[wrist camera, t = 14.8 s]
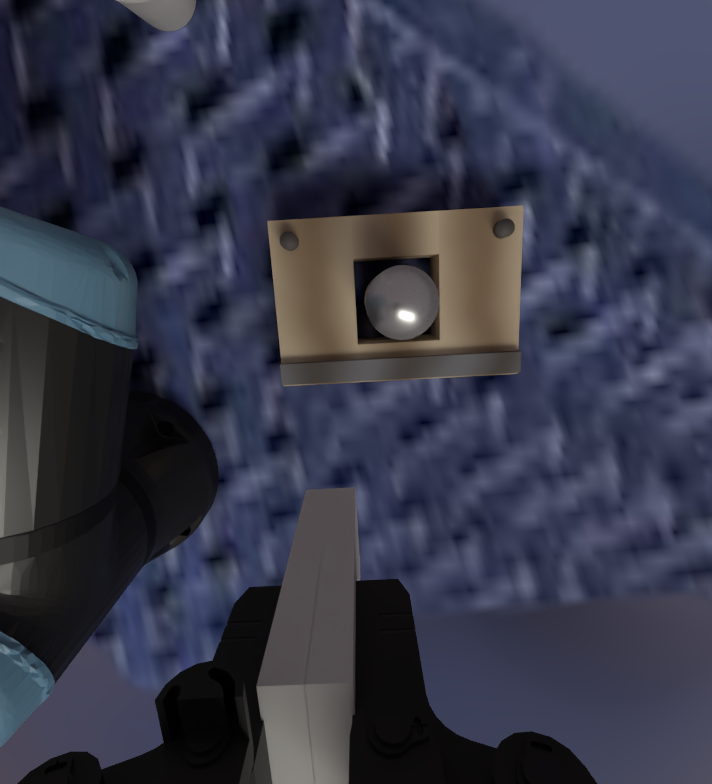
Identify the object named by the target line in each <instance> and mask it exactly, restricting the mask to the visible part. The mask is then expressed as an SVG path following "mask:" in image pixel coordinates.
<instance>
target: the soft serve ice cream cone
mask: <svg viewBox="0 0 712 784" xmlns="http://www.w3.org/2000/svg"><path fill="white" fill-rule="evenodd" d="M115 1H118V2H120V3H121V4H123V5H124V6H125V7H127V8H128V9H129V10H131V11H132V12H134V13H135V14H136V15H138V16H139V17H141V18H142V19H143V20H145V21H146V22H147V23H149V24H150V25H152V26H153V27H155V28H157V29H159V30H162V31H169V32H170V31H176V30H179V29H181V28H182V27H184V26H185V25H186V24H187V23H188V22H189V21H190V19H191V18H192V16H193V13H194V10H195V6H196V0H115Z"/></svg>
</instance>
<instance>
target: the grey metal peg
mask: <svg viewBox="0 0 712 784" xmlns="http://www.w3.org/2000/svg"><path fill="white" fill-rule="evenodd" d="M364 303H365V308H366V312H367V315H368V318H369V320H370V322H371V324H372V325H373V326H374V328H375V329H376V330H377V331H378V332H380V333H381V334H383V335H384V336H386V337H389V338H391V339H396V340H407V339H411V338H414V337H417V336H419V335H421V334H422V333H424V332H425V331H426V330H427V329H428V328H429V327H430V326H431V325H432V323H433V321H434V320H435V318H436V315H437V312H438V308H439V295H438V291H437V288H436V286H435V284H434V282H433V280H432V279H431V278H430V277H429V276H428V275H427V274H426V273H425V272H424V271H422V270H420V269H418V268H416V267H413V266H408V265H398V266H394V267H390V268H388V269H386V270H384V271H383V272H381V273H380V274H379V275H378V276H376V277H375V278H374V279H373V280H372V281H371V282H370V283H369V285H368V286H367V289H366V291H365V296H364Z"/></svg>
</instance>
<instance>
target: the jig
mask: <svg viewBox="0 0 712 784" xmlns="http://www.w3.org/2000/svg"><path fill="white" fill-rule="evenodd" d="M267 223H268V233H269V244H270V254H271V264H272V274H273V284H274V294H275V304H276V314H277V324H278V334H279V344H280V354H281V364H280V370H281V380H282V385H284V386H296V385H315V384H334V383H353V382H371V381H390V380H409V379H428V378H446V377H465V376H484V375H503V374H517V373H520V368H521V351H518V342H519V315H520V288H521V260H522V233H523V206H508V207H492V208H475V209H458V210H442V211H425V212H409V213H392V214H375V215H359V216H342V217H325V218H309V219H292V220H276V221H267ZM413 258H430V278H431V279H432V280H433V282H434V284H435V286H436V288H437V291H438V295H439V308H438V312H437V315H436V318H435V320H434V321H433V323H432V325H431V334H427V335H419V336H417V337H414V338H411V339H407V340H396V339H391V338H389V337H373V338H358V334H357V316H356V298H355V279H354V262H362V261H379V260H396V259H413Z"/></svg>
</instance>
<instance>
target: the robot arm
mask: <svg viewBox="0 0 712 784" xmlns="http://www.w3.org/2000/svg"><path fill="white" fill-rule="evenodd" d="M137 287H138V283H137V277H136V273H135V270H134V268H133V266H132V264H131V263H130V261H129V260H128V259H127V258H126V256H125V255H124V254H123V253H122V252H120V251H119V250H118V249H116V248H115V247H113V246H112V245H110V244H108V243H105V242H103V241H100V240H98V239H95V238H92V237H89V236H86V235H83V234H80V233H77V232H74V231H71V230H68V229H65V228H62V227H59V226H56V225H53V224H51V223H48V222H45V221H42V220H39V219H36V218H33V217H30V216H27V215H24V214H21V213H18V212H15V211H12V210H9V209H6V208H3V207H0V747H1V746H2V745H3V744H4V743H5V742H6V741H7V740H8V739H9V738H10V737H11V736H12V734H13V733H14V732H15V731H16V730H17V729H18V728H19V727H20V725H21V724H22V723H23V722H24V721H25V720H26V719H27V718H28V717H29V715H30V714H31V713H32V712H33V711H34V710H35V709H36V708H37V707H38V706H39V705H40V704H41V703H43V701H45V700H46V699H47V697H48V696H49V695H50V694H51V692H52V691H53V690H54V689H53V687H54V684H55V683H56V682H57V680H58V679H59V678H60V676H61V675H62V674H63V672H64V671H65V670H66V668H67V667H68V666H69V664H70V663H71V662H72V660H73V659H74V658H75V656H76V655H77V654H78V652H79V651H80V650H81V648H82V647H83V646H84V644H85V643H86V642H87V640H88V639H89V638H90V636H91V635H92V634H93V632H94V631H95V630H96V628H97V627H98V626H99V624H100V623H101V622H102V620H103V619H104V618H105V616H106V615H107V614H108V612H109V611H110V610H111V608H112V607H113V606H114V604H115V603H116V602H117V600H118V599H119V598H120V596H121V595H122V594H123V592H124V591H125V590H126V588H127V587H128V586H129V584H130V583H131V582H132V580H133V579H134V578H135V576H136V575H137V573H138V572H139V571H140V570H141V568H142V567H143V566H144V565H145V564H147V563H149V562H150V561H152V560H154V559H155V558H157V557H159V556H160V555H162V554H164V553H166V552H167V551H169V550H171V549H172V548H174V547H176V546H177V545H179V544H180V543H182V542H183V541H185V540H186V539H187V538H188V537H189V536H190V535H191V534H192V533H193V532H194V531H195V530H196V529H197V528H198V526H199V525H200V524H201V522H202V521H203V519H204V518H205V516H206V515H207V513H208V511H209V510H210V508H211V506H212V504H213V502H214V499H215V496H216V492H217V487H218V466H217V461H216V457H215V454H214V451H213V448H212V446H211V444H210V442H209V440H208V438H207V436H206V435H205V433H204V432H203V430H202V429H201V428H200V426H199V425H198V424H197V423H196V422H195V421H194V420H193V419H192V418H191V417H190V416H189V415H188V414H187V413H186V412H184V411H183V410H182V409H180V408H179V407H177V406H176V405H174V404H173V403H171V402H169V401H167V400H165V399H163V398H160V397H158V396H155V395H152V394H148V393H144V392H139V391H130V390H129V385H130V377H131V370H132V362H133V354H134V349H137V347H138V340H139V339H138V338H137V336H136V335H135V332H136V308H137ZM227 623H228V624H227V626H226V627H225V630H224V632H223V635H222V638H221V642H220V643H219V645H218V648H217V650H216V653H215V656H214V658H213V661H209V662H204V663H199V664H196V665H194V666H192V667H190V668H188V669H186V670H184V671H182V672H180V673H179V674H178V675H176V676H175V677H174V678H173V679H172V680H171V681H169V682H168V683H167V684H166V685H165V686H164V688H163V689H162V691H161V692H160V694H159V695H158V697H157V698H156V699H155V703H156V708H157V712H158V717H159V722H160V727H161V731H162V736H163V741H164V743H163V744H161V745H160V746H158V747H157V748H155V749H153V750H151V751H149V752H147V753H145V754H143V755H140V756H137V757H135V758H132V759H129V760H126V761H124V762H121V763H118V764H115V765H113V766H110V767H107V768H105V769H102V770H101V767H100V764H99V761H98V759H97V758H96V757H94V756H93V755H91V754H90V753H88V752H69V753H66V754H63V755H60V756H57V757H54V758H51V759H50V760H48V761H46V762H45V763H43V764H42V765H40V766H39V767H37V768H35V769H34V770H32V771H31V772H29V773H28V774H27V775H26V776H25V777H24V778H23V779H22V780H21V781H20V782H19V783H18V784H597V783H596V781H595V780H594V778H593V777H592V776H591V774H590V773H589V771H588V770H587V768H586V767H585V766H584V765H583V764H582V763H581V762H580V760H579V759H578V758H577V757H576V756H575V755H574V754H573V753H572V752H571V750H570V749H568V748H567V747H565V746H564V745H562V744H560V743H559V742H557V741H556V740H554V739H553V738H551V737H549V736H545V735H542V734H538V733H535V732H521V733H514V734H512V735H511V736H509V737H507V738H506V739H504V740H502V741H501V743H500V744H499V746H498V748H494V747H490V746H487V745H484V744H480V743H477V742H474V741H471V740H468V739H466V738H464V737H461V736H459V735H457V734H455V733H454V732H453V731H451V730H450V729H448V728H447V727H445V726H444V724H443V723H442V722H441V721H440V720H439V719H438V718H437V717H436V716H435V714H434V712H433V711H432V709H431V707H430V705H429V702H428V699H427V696H426V692H425V685H424V680H423V673H422V667H421V661H420V656H419V649H418V643H417V637H416V632H415V625H414V619H413V614H412V607H411V601H410V595H409V593H408V592H407V590H406V589H405V588H404V586H403V585H402V584H401V582H400V581H399V580H398V579H386V580H364V581H360V558H359V541H358V525H357V509H356V492H355V488H334V489H314V490H306V492H305V496H304V500H303V504H302V508H301V512H300V516H299V520H298V524H297V528H296V532H295V536H294V540H293V544H292V548H291V551H290V555H289V559H288V563H287V567H286V571H285V575H284V579H283V583H282V586H265V587H249V588H248V589H247V591H246V592H245V593H244V594H243V595H242V596H241V597H240V598H239V599H238V600H237V601H236V603H235V604H234V607H233V609H232V612H231V614H230V617H229V619H228V622H227Z"/></svg>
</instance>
